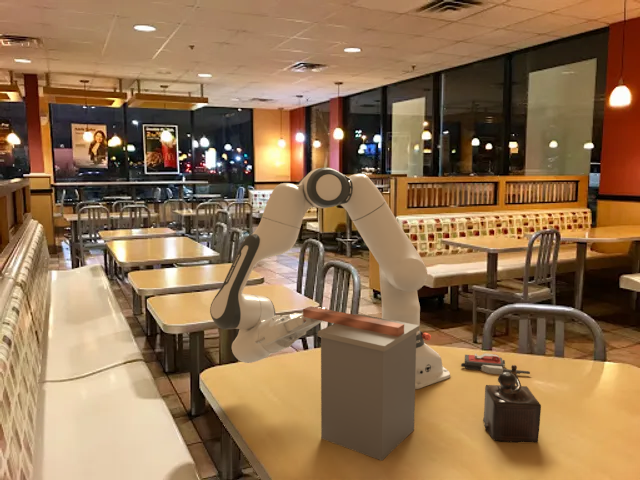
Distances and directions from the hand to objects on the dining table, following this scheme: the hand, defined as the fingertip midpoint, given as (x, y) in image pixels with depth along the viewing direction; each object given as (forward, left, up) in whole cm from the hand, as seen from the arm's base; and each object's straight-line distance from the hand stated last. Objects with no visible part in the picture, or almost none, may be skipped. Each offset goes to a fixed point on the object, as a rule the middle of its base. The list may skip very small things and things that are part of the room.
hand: (315, 314), depth 129 cm
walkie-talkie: (-63, -4, -27) cm, 69 cm away
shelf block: (-8, +14, -27) cm, 31 cm away
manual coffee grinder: (-38, +29, -27) cm, 54 cm away
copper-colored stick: (-5, +9, -1) cm, 11 cm away
